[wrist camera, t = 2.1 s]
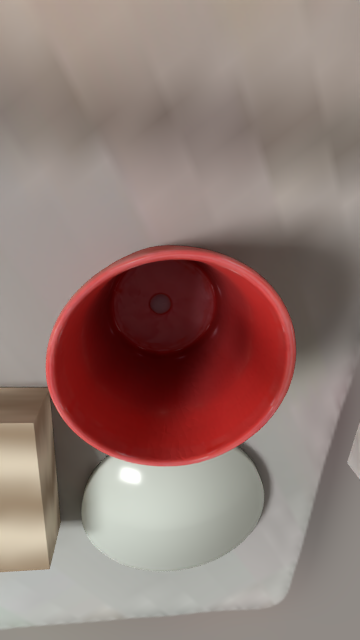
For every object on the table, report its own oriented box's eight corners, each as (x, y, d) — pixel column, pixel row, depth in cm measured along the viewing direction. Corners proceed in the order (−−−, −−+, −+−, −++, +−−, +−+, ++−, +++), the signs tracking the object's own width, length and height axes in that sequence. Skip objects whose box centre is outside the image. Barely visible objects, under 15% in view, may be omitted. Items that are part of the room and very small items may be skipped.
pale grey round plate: (79, 430, 27) (77, 439, 26) (274, 428, 29) (278, 436, 28) (86, 565, 33) (84, 576, 32) (247, 556, 35) (250, 566, 34)
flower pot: (63, 234, 21) (6, 274, 12) (235, 210, 22) (299, 231, 13) (99, 378, 26) (76, 486, 17) (243, 355, 26) (297, 447, 17)
